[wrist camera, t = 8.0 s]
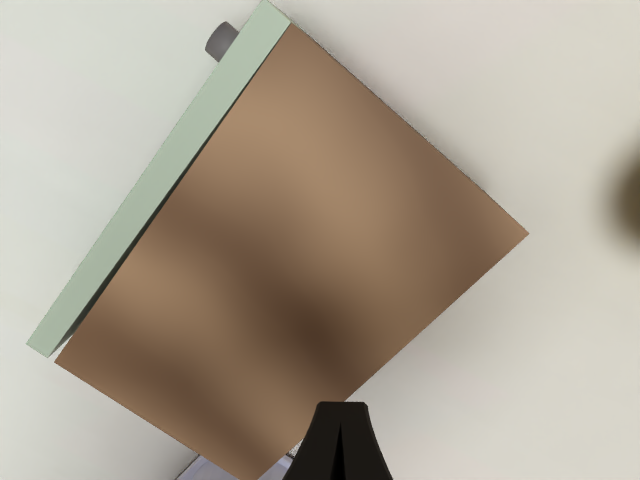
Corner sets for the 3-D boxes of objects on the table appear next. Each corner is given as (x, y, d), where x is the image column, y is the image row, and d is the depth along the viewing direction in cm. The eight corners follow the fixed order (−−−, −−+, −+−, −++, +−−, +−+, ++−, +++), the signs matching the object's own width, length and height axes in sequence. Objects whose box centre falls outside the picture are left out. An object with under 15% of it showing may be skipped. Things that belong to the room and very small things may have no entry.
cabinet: (270, 406, 24) (249, 486, 20) (116, 301, 22) (54, 362, 18) (486, 193, 19) (529, 233, 14) (308, 35, 17) (291, 22, 13)
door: (107, 302, 22) (47, 358, 18) (73, 278, 22) (3, 329, 17) (307, 34, 17) (291, 22, 13) (266, -3, 17) (235, -29, 12)
